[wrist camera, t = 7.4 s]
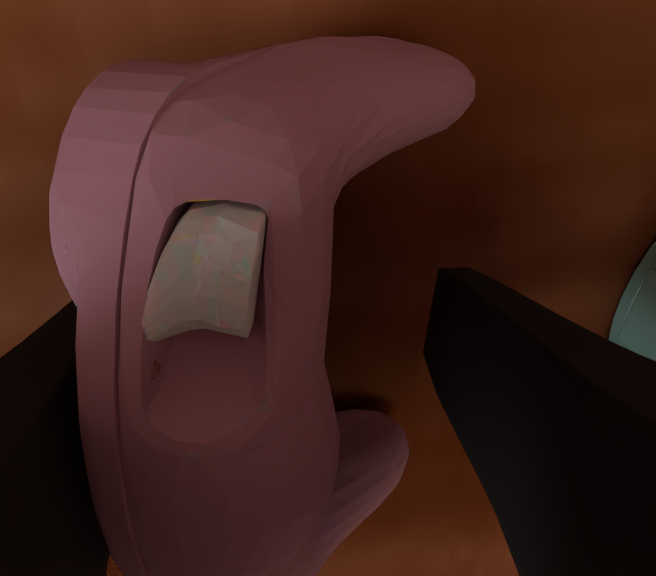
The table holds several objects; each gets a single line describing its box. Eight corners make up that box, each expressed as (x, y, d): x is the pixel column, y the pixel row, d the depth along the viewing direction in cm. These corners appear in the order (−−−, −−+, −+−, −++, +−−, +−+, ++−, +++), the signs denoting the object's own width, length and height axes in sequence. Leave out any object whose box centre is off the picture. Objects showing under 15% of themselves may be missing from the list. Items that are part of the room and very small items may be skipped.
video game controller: (236, 13, 10) (-172, 53, 4) (488, 31, 9) (451, 124, 3) (251, 405, 15) (85, 678, 9) (411, 446, 14) (341, 784, 8)
